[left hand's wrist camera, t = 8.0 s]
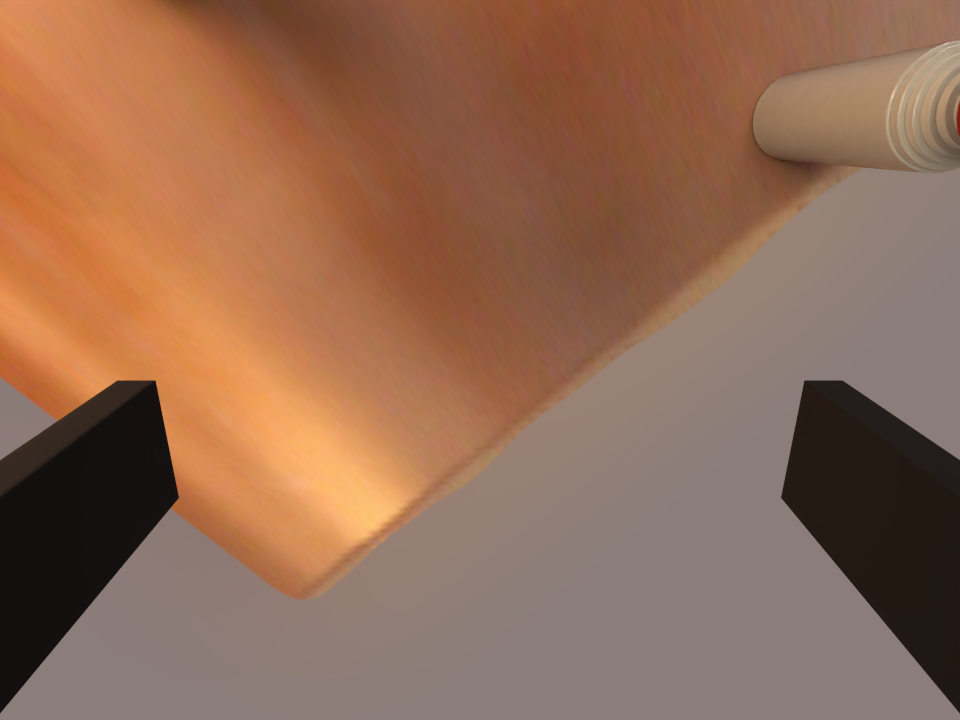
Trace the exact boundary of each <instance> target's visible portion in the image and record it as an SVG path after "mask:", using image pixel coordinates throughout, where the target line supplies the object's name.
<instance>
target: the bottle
mask: <svg viewBox="0 0 960 720" xmlns="http://www.w3.org/2000/svg"><path fill="white" fill-rule="evenodd" d="M959 101H960V40H956V41H950V42H945V43H940V44H935V45H930V46H925V47H920V48H915V49H910V50H905V51H900V52H895V53H890V54H885V55H880V56H874V57H869V58H864V59H859V60H854V61H849V62H844V63H839V64H834V65H829V66H824V67H819V68H814V69H809V70H804V71H799V72H794V73H790V74H787V75H785V76H782V77H781V78H779V79H777V80H776V81H774V82H773V83H772V84H771V85H770V86H769V87H768V88H767V89H766V90H765V91H764V93H763V94H762V95H761V97H760V99H759V101H758V103H757V105H756V107H755V111H754V115H753V133H754V137H755V139H756V142H757V143H758V145H759V147H760V148H761V149H762V150H763V151H764V152H765V153H766V154H767V155H769V156H771V157H773V158H775V159H778V160H783V161H795V162H807V163H818V164H830V165H842V166H853V167H865V168H877V169H889V170H900V171H912V172H924V173H940V172H946V171H950V170H953V169H957V168H960V138H959V135H958V132H957V124H956V116H957V109H958V105H959Z"/></svg>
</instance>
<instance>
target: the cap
mask: <svg viewBox="0 0 960 720" xmlns="http://www.w3.org/2000/svg"><path fill="white" fill-rule="evenodd" d="M956 124H957V132H958V135H959V138H960V101H959V105H958V109H957V116H956Z"/></svg>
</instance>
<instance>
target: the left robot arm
mask: <svg viewBox="0 0 960 720" xmlns="http://www.w3.org/2000/svg"><path fill="white" fill-rule="evenodd" d="M178 498H179V496H178V491H177V486H176V481H175V476H174V471H173V466H172V461H171V456H170V451H169V446H168V441H167V436H166V431H165V426H164V421H163V416H162V411H161V406H160V401H159V396H158V391H157V386H156V381H116V382H115V383H113V384H112V385H110V386H109V387H107V388H106V389H104V390H103V391H102V392H100V393H99V394H97V395H96V396H94V397H93V398H91V399H90V400H88V401H87V402H85V403H84V404H82V405H81V406H79V407H78V408H76V409H75V410H74V411H72V412H71V413H69V414H68V415H66V416H65V417H63V418H62V419H60V420H59V421H57V422H56V423H54V424H53V425H51V426H50V427H48V428H47V429H46V430H44V431H43V432H41V433H40V434H38V435H37V436H35V437H34V438H32V439H31V440H29V441H28V442H26V443H25V444H23V445H22V446H21V447H19V448H18V449H16V450H15V451H13V452H12V453H10V454H9V455H7V456H6V457H4V458H3V459H2V460H0V713H1V712H2V710H3V709H4V708H5V707H6V706H7V704H8V703H9V702H10V701H11V700H12V698H13V697H14V696H15V695H16V694H17V692H18V691H19V690H20V689H21V688H22V686H23V685H24V684H25V683H26V682H27V680H28V679H29V678H30V677H31V675H32V674H33V673H34V672H35V671H36V669H37V668H38V667H39V666H40V665H41V663H42V662H43V661H44V660H45V659H46V657H47V656H48V655H49V654H50V653H51V651H52V650H53V649H54V648H55V646H56V645H57V644H58V643H59V642H60V640H61V639H62V638H63V637H64V636H65V634H66V633H67V632H68V631H69V630H70V628H71V627H72V626H73V625H74V624H75V622H76V621H77V620H78V619H79V618H80V616H81V615H82V614H83V613H84V612H85V610H86V609H87V608H88V607H89V606H90V604H91V603H92V602H93V601H94V599H95V598H96V597H97V596H98V595H99V593H100V592H101V591H102V590H103V589H104V587H105V586H106V585H107V584H108V583H109V581H110V580H111V579H112V578H113V577H114V575H115V574H116V573H117V572H118V570H119V569H120V568H121V567H122V566H123V565H124V563H125V562H126V561H127V560H128V558H129V557H130V556H131V555H132V554H133V552H134V551H135V550H136V549H137V548H138V546H139V545H140V544H141V543H142V542H143V540H144V539H145V538H146V537H147V536H148V534H149V533H150V532H151V531H152V530H153V528H154V527H155V526H156V525H157V523H158V522H159V521H160V520H161V519H162V517H163V516H164V515H165V514H166V513H167V511H168V510H169V509H170V508H171V507H172V505H173V504H174V503H175V502H176V501H177V499H178ZM781 498H782V499H783V501H784V502H785V503H786V504H787V505H788V507H789V508H790V509H791V510H792V511H793V513H794V514H795V515H796V516H797V517H798V519H799V520H800V521H801V522H802V523H803V525H804V526H805V527H806V528H807V530H808V531H809V532H810V533H811V534H812V536H813V537H814V538H815V539H816V540H817V542H818V543H819V544H820V545H821V546H822V548H823V549H824V550H825V551H826V552H827V554H828V555H829V556H830V557H831V558H832V560H833V561H834V562H835V563H836V564H837V566H838V567H839V568H840V569H841V571H842V572H843V573H844V574H845V575H846V577H847V578H848V579H849V580H850V581H851V583H852V584H853V585H854V586H855V587H856V589H857V590H858V591H859V592H860V593H861V595H862V596H863V597H864V598H865V599H866V601H867V602H868V603H869V604H870V606H871V607H872V608H873V609H874V610H875V612H876V613H877V614H878V615H879V616H880V618H881V619H882V620H883V621H884V622H885V624H886V625H887V626H888V627H889V628H890V630H891V631H892V632H893V633H894V634H895V636H896V637H897V638H898V639H899V640H900V642H901V643H902V644H903V645H904V646H905V648H906V649H907V650H908V651H909V653H910V654H911V655H912V656H913V657H914V659H915V660H916V661H917V662H918V663H919V665H920V666H921V667H922V668H923V669H924V671H925V672H926V673H927V674H928V675H929V677H930V678H931V679H932V680H933V682H934V683H935V684H936V685H937V686H938V688H939V689H940V690H941V691H942V692H943V694H944V695H945V696H946V697H947V698H948V700H949V701H950V702H951V703H952V704H953V706H954V707H955V708H956V709H957V710H958V712H959V713H960V460H959V459H957V458H956V457H954V456H953V455H951V454H950V453H948V452H947V451H945V450H944V449H942V448H941V447H939V446H938V445H937V444H935V443H934V442H932V441H931V440H929V439H928V438H926V437H925V436H923V435H922V434H920V433H919V432H917V431H916V430H914V429H913V428H912V427H910V426H909V425H907V424H906V423H904V422H903V421H901V420H900V419H898V418H897V417H895V416H894V415H892V414H891V413H889V412H888V411H886V410H885V409H884V408H882V407H881V406H879V405H878V404H876V403H875V402H873V401H872V400H870V399H869V398H867V397H866V396H864V395H863V394H861V393H860V392H858V391H857V390H856V389H854V388H853V387H851V386H850V385H848V384H847V383H845V382H844V381H804V386H803V391H802V396H801V401H800V406H799V411H798V416H797V421H796V426H795V431H794V436H793V441H792V446H791V451H790V456H789V461H788V466H787V471H786V476H785V481H784V486H783V491H782V496H781Z"/></svg>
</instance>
